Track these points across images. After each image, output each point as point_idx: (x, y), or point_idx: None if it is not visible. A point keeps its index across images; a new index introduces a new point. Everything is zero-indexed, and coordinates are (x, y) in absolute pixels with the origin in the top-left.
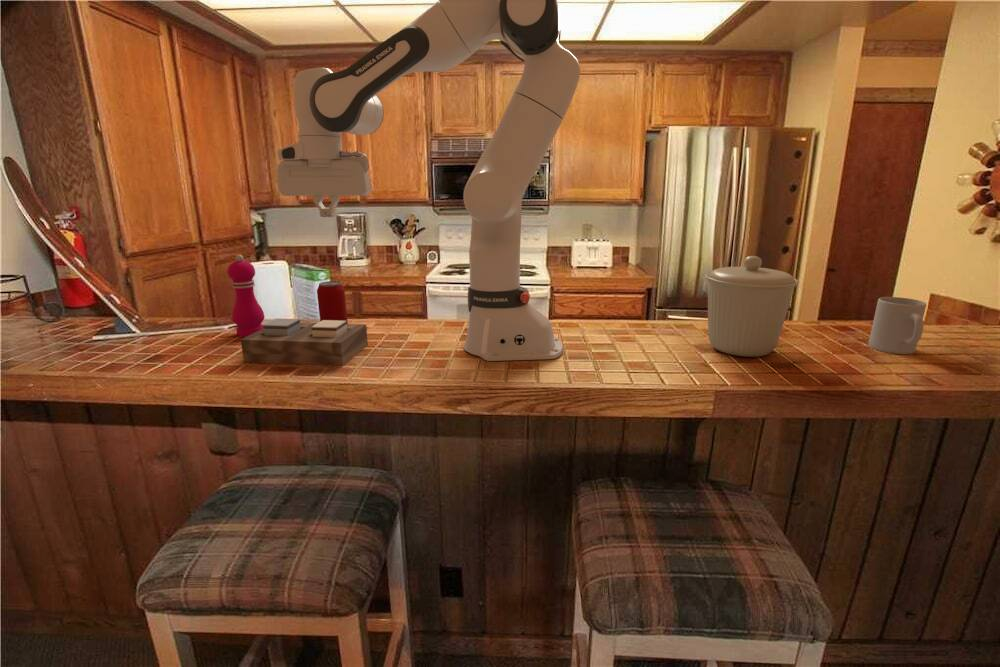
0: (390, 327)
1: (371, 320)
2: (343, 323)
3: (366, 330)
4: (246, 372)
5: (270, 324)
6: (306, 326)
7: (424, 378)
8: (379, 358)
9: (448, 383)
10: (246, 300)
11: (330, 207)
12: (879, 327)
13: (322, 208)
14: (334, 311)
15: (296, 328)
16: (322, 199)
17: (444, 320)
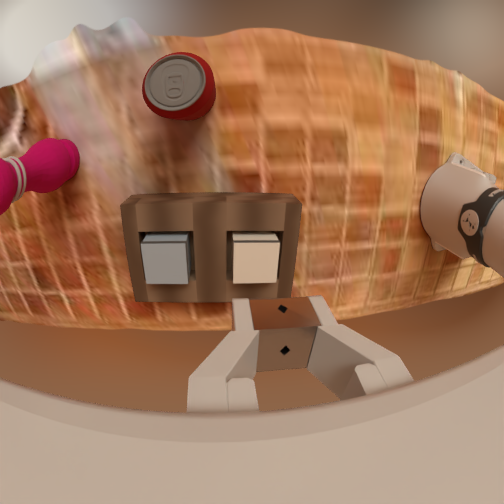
0: (302, 85)
1: (246, 37)
2: (278, 254)
3: (299, 201)
4: (172, 311)
5: (156, 280)
6: (193, 227)
7: (376, 300)
8: (323, 251)
9: (394, 306)
10: (36, 185)
11: (322, 373)
12: None
13: (256, 368)
14: (199, 115)
15: (187, 250)
16: (254, 398)
17: (384, 52)
